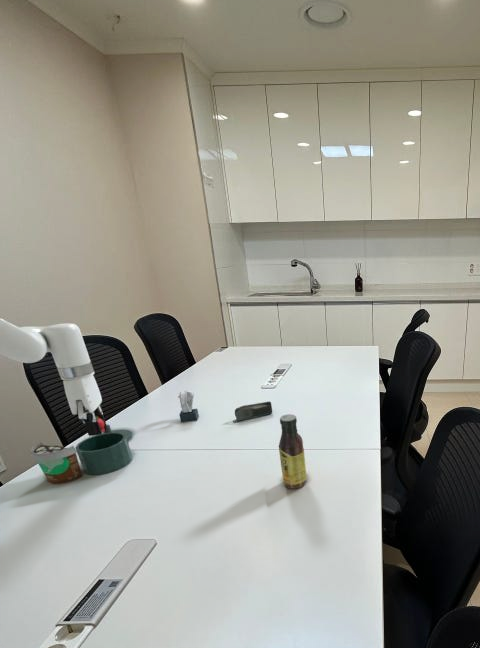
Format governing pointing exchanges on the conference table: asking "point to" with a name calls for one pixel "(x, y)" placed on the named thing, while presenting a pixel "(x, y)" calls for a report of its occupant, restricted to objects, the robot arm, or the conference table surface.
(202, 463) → the conference table surface
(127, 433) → the lid
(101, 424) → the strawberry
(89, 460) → the pot
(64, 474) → the food container
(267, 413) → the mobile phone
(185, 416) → the stone sculpture
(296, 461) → the sauce bottle
